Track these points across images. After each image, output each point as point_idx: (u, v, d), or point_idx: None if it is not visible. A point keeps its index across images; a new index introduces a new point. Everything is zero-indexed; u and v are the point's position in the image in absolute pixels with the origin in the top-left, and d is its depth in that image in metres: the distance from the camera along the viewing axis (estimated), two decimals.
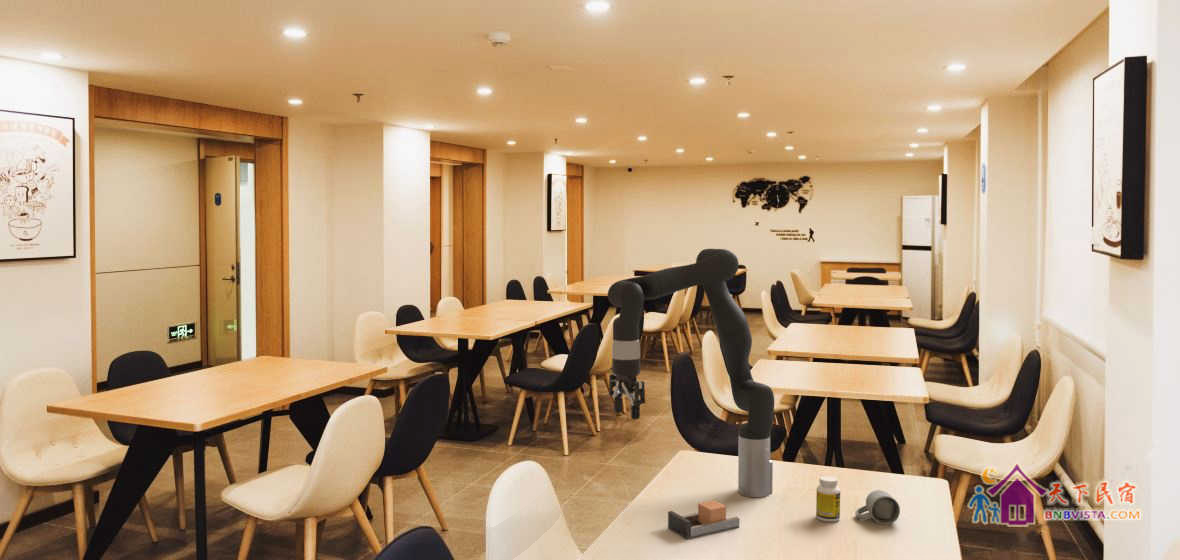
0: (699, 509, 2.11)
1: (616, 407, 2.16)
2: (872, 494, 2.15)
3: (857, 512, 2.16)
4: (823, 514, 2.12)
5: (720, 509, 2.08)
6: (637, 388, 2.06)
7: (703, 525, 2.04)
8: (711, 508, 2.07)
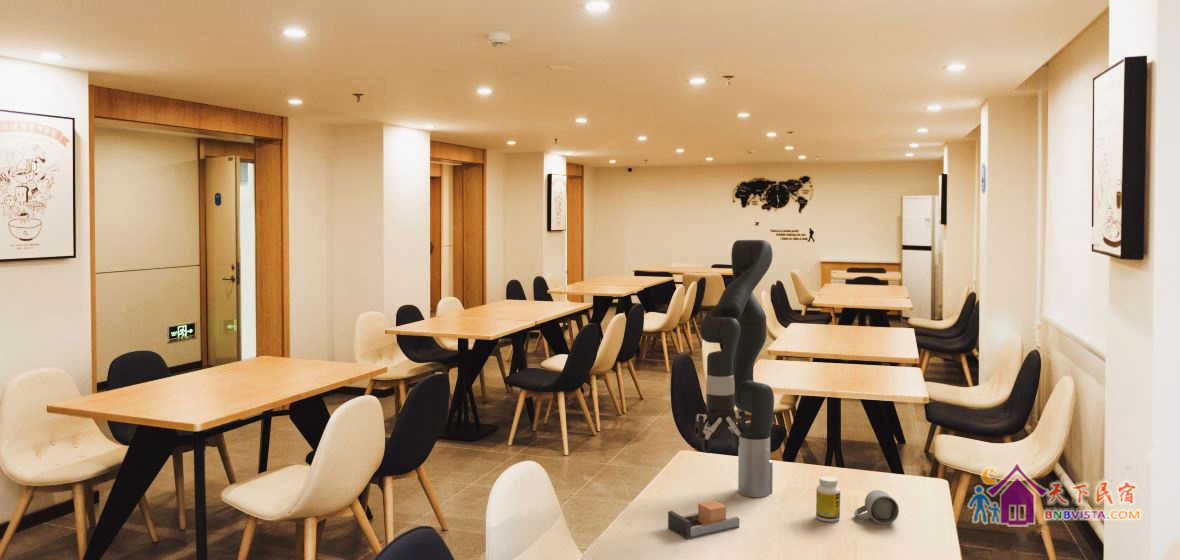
0: (699, 509, 2.11)
1: None
2: (871, 494, 2.15)
3: (856, 512, 2.16)
4: (823, 514, 2.12)
5: (720, 509, 2.08)
6: None
7: (703, 525, 2.04)
8: (711, 508, 2.07)
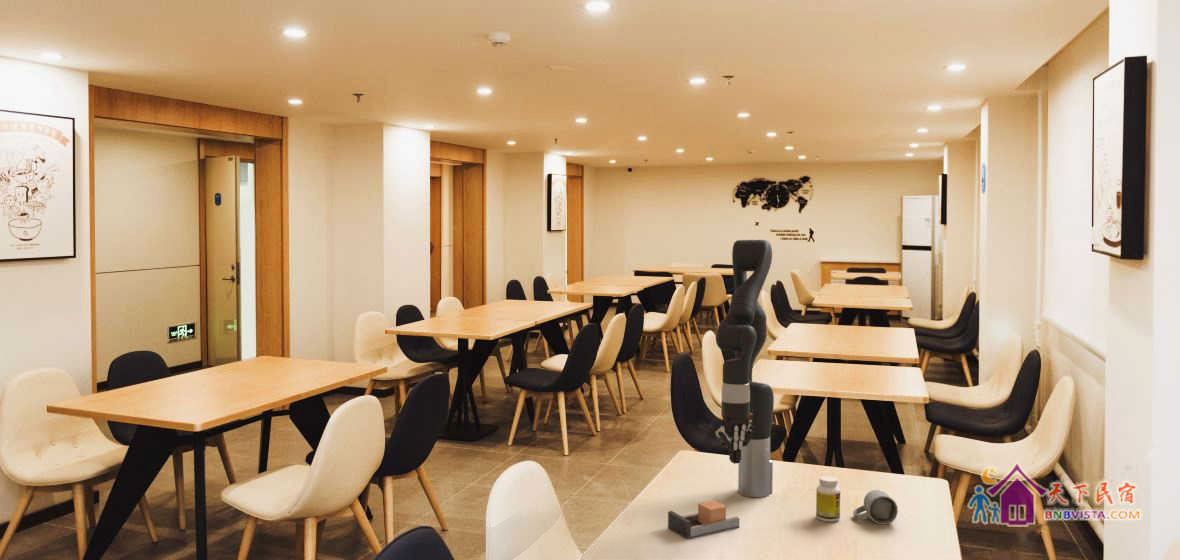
0: (699, 509, 2.11)
1: None
2: (869, 494, 2.15)
3: (855, 512, 2.16)
4: (823, 514, 2.12)
5: (720, 509, 2.08)
6: None
7: (703, 525, 2.04)
8: (711, 508, 2.07)
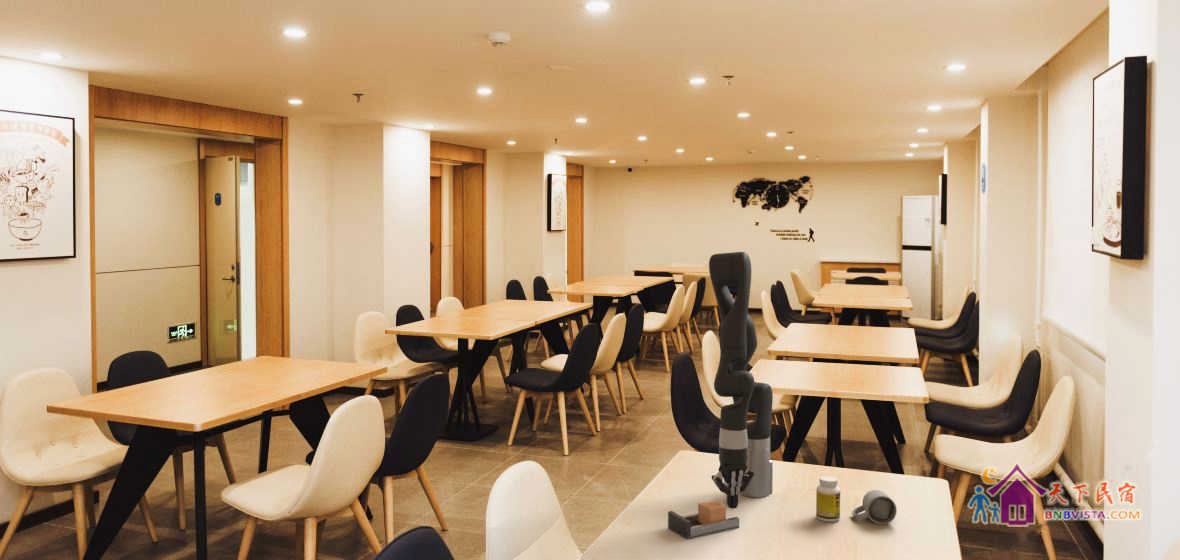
0: (699, 509, 2.11)
1: None
2: (868, 494, 2.15)
3: (854, 512, 2.16)
4: (823, 514, 2.12)
5: (720, 509, 2.08)
6: None
7: (703, 525, 2.04)
8: (711, 508, 2.07)
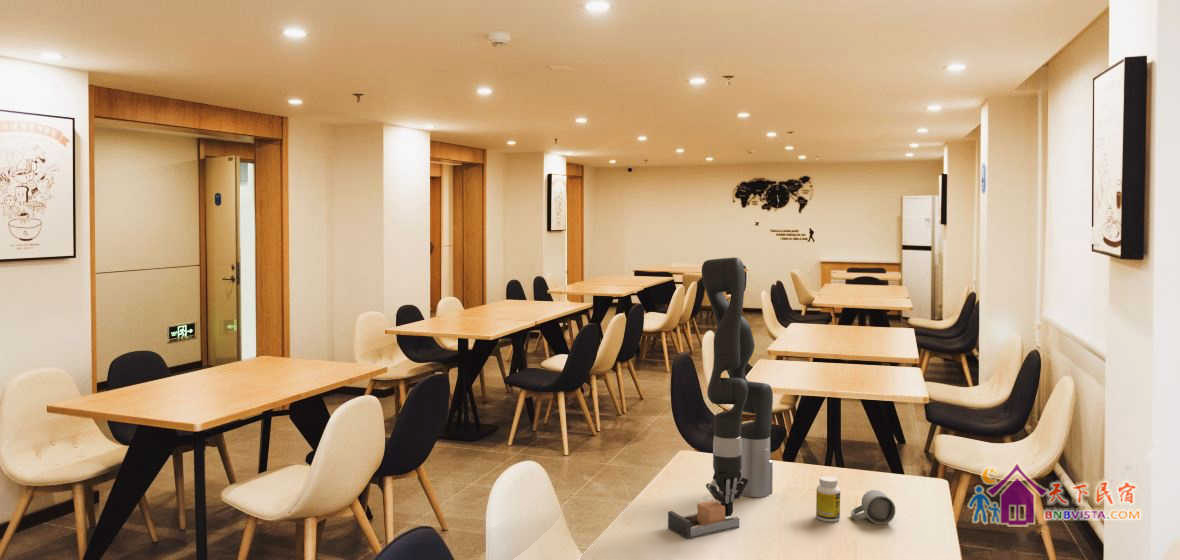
0: (698, 509, 2.11)
1: None
2: (867, 494, 2.15)
3: (853, 512, 2.16)
4: (823, 514, 2.12)
5: (719, 509, 2.08)
6: None
7: (703, 525, 2.04)
8: (710, 508, 2.07)
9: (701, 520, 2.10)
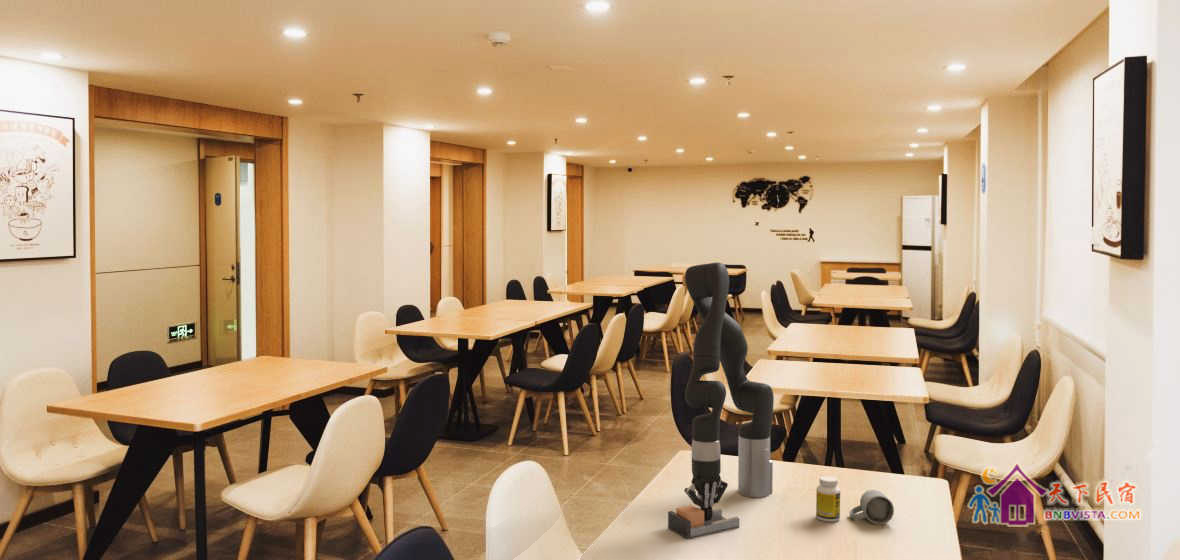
0: None
1: None
2: (866, 494, 2.15)
3: (851, 512, 2.16)
4: (823, 514, 2.12)
5: (698, 514, 2.04)
6: None
7: (703, 525, 2.04)
8: (689, 513, 2.04)
9: None
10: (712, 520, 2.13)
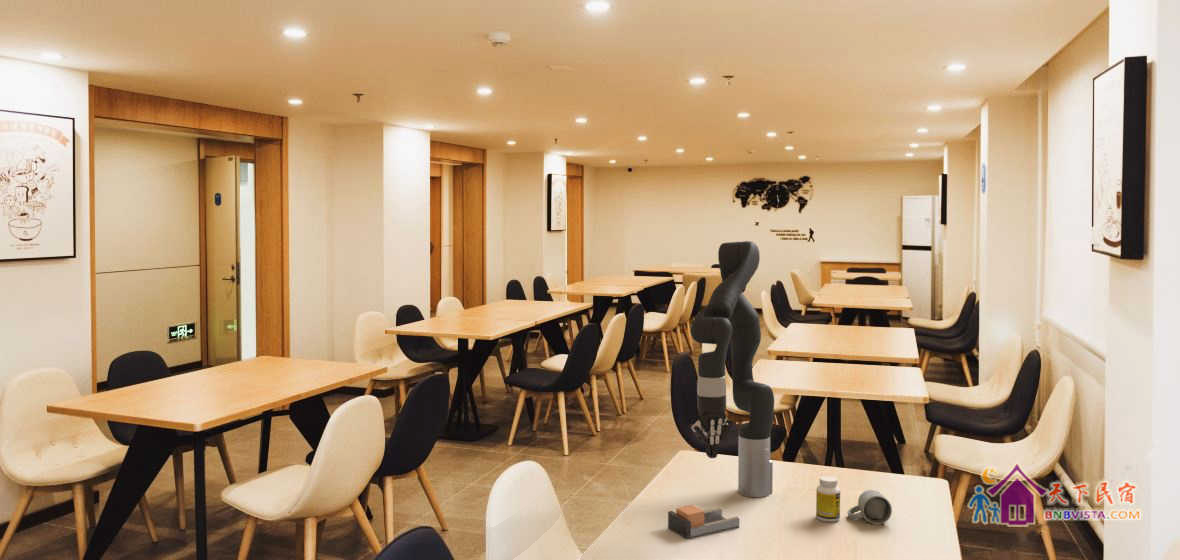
0: None
1: None
2: (864, 494, 2.15)
3: (849, 512, 2.16)
4: (823, 514, 2.12)
5: (698, 514, 2.04)
6: None
7: (703, 525, 2.04)
8: (689, 513, 2.04)
9: None
10: (712, 520, 2.13)
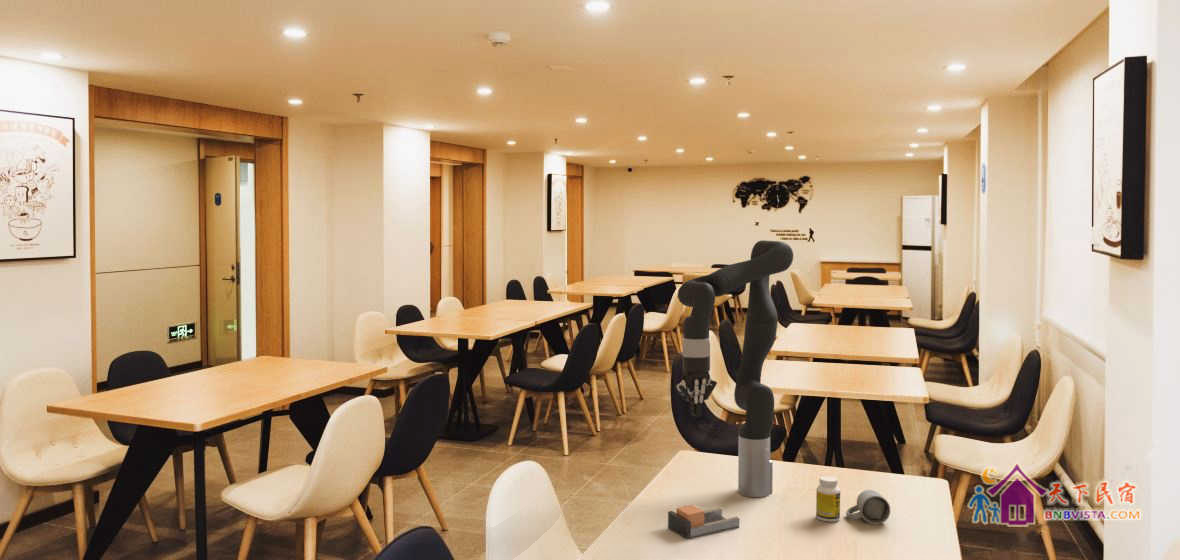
0: None
1: None
2: (862, 494, 2.15)
3: (848, 512, 2.16)
4: (823, 514, 2.12)
5: (698, 514, 2.04)
6: None
7: (703, 525, 2.04)
8: (689, 513, 2.04)
9: None
10: (712, 520, 2.13)
